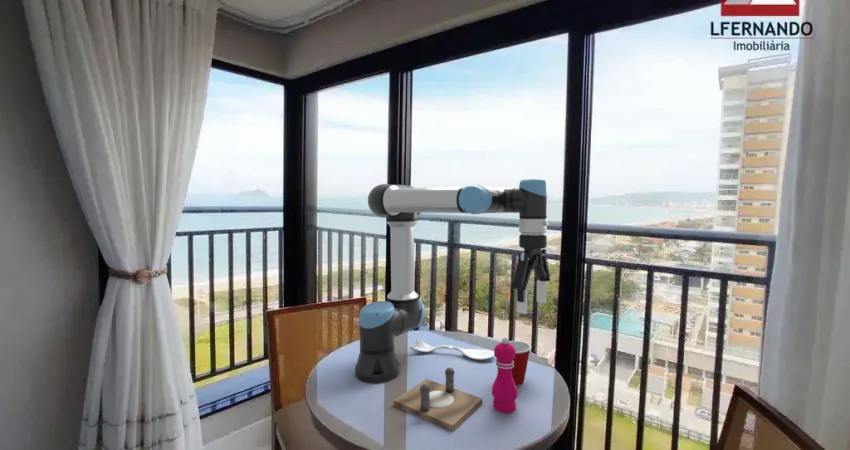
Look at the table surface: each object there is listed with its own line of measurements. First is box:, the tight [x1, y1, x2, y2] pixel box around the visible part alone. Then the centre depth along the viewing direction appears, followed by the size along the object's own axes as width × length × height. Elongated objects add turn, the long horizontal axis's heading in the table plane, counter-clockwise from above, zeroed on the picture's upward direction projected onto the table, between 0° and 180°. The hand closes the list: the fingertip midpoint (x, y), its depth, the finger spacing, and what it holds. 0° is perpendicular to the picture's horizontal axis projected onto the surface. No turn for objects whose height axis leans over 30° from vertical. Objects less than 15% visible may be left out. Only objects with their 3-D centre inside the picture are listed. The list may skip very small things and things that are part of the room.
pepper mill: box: [491, 337, 519, 414], centre depth 102 cm, size 7×7×20 cm
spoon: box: [409, 339, 495, 361], centre depth 139 cm, size 9×32×4 cm, turn 73°
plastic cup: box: [508, 340, 532, 386], centre depth 117 cm, size 11×11×12 cm
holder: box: [392, 367, 483, 432], centre depth 104 cm, size 20×16×8 cm
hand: (532, 307), depth 104 cm, fingers open, 13 cm apart
